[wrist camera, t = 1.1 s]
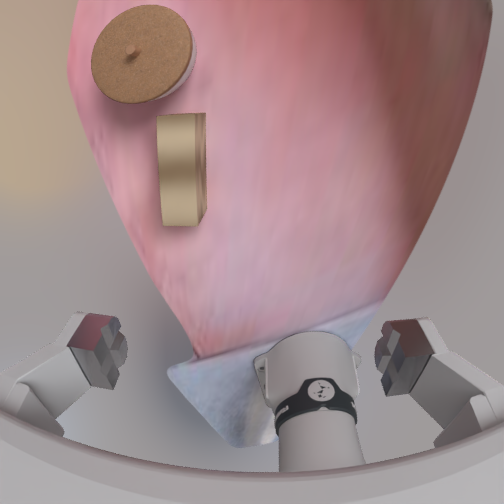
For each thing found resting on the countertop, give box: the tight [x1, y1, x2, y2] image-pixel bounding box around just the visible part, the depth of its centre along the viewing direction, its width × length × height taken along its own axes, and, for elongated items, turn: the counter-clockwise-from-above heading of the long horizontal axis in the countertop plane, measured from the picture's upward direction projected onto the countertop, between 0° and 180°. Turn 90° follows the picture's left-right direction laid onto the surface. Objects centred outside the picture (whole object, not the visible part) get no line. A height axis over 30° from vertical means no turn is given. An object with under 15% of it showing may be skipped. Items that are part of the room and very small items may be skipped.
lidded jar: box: [91, 5, 197, 104], centre depth 25 cm, size 11×11×9 cm
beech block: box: [156, 113, 207, 226], centre depth 32 cm, size 12×4×6 cm, turn 178°
